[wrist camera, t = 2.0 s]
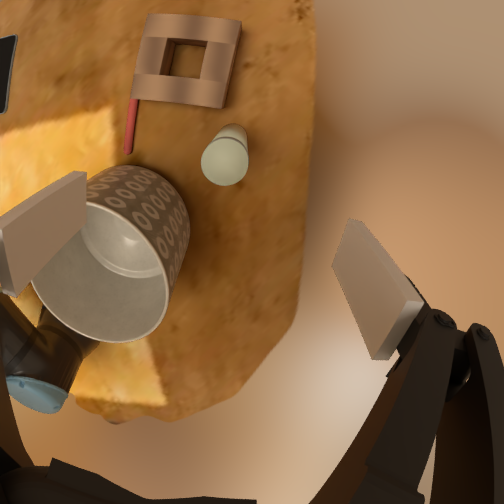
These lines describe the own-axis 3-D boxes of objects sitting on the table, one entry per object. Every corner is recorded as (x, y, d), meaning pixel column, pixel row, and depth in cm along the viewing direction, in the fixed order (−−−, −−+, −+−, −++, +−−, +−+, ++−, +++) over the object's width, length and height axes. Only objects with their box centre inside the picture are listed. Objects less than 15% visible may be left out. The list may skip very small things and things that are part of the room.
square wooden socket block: (142, 98, 37) (130, 98, 33) (158, 21, 32) (147, 13, 27) (223, 107, 39) (221, 108, 34) (241, 29, 33) (241, 21, 29)
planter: (197, 164, 42) (168, 207, 26) (191, 275, 51) (171, 353, 35) (82, 159, 41) (12, 197, 25) (91, 262, 50) (44, 328, 34)
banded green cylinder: (215, 148, 41) (197, 181, 26) (221, 121, 39) (204, 135, 24) (244, 153, 42) (243, 190, 26) (249, 126, 40) (253, 144, 24)
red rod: (132, 154, 41) (129, 155, 40) (125, 153, 41) (122, 154, 40) (142, 80, 36) (139, 80, 35) (134, 80, 36) (132, 80, 35)
